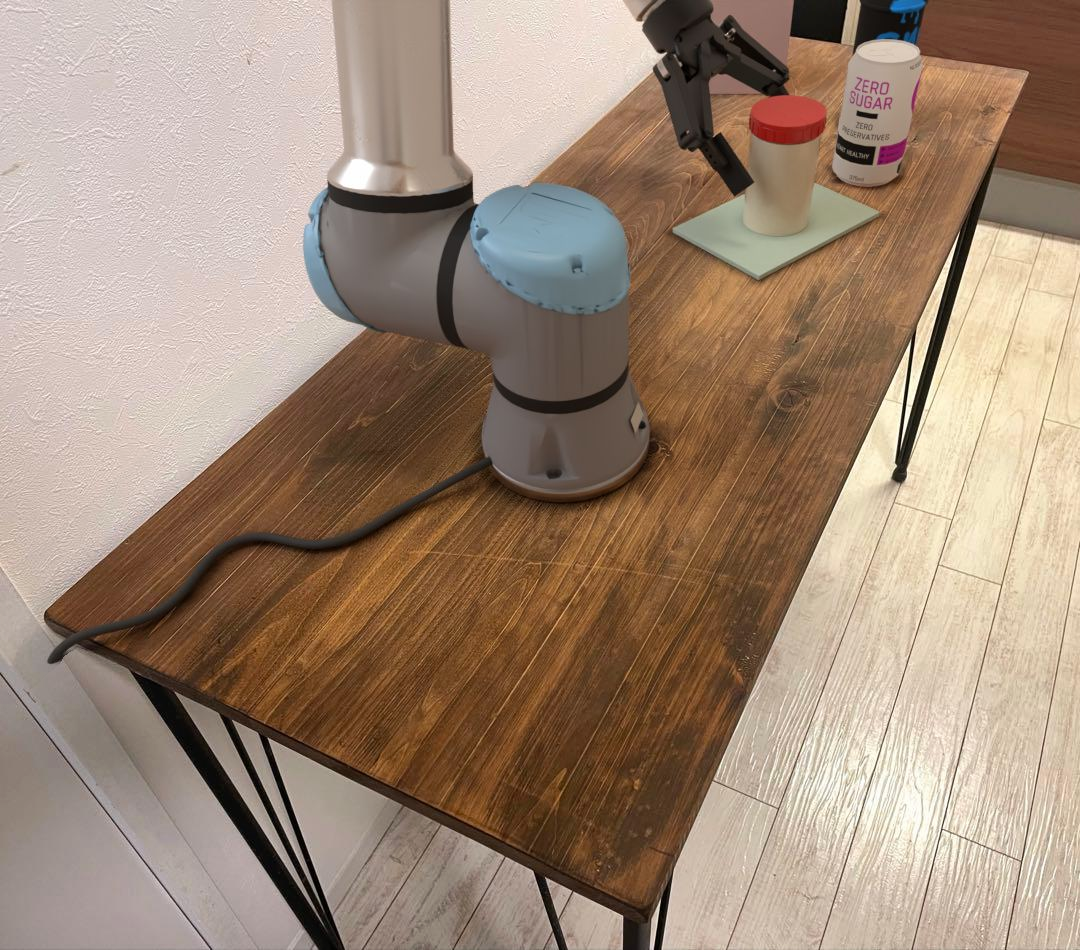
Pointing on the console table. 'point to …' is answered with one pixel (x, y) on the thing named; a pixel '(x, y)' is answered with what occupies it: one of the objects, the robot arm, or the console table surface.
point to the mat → (768, 254)
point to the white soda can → (876, 112)
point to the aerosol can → (889, 20)
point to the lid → (787, 119)
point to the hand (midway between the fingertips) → (775, 164)
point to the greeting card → (754, 33)
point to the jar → (780, 186)
